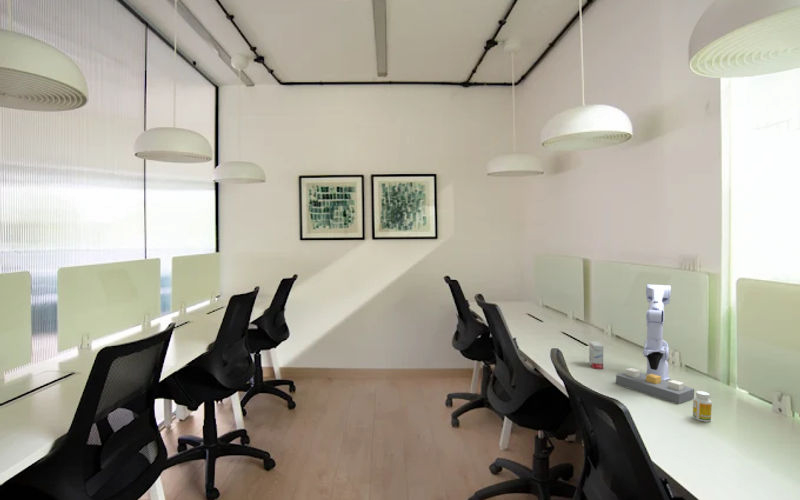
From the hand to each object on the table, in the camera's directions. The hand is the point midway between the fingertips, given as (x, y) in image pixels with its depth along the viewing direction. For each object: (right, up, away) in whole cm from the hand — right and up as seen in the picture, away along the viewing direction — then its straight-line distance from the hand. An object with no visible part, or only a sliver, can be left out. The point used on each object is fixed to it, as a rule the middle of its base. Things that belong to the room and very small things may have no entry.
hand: (653, 369), depth 176 cm
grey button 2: (+5, -7, -8) cm, 11 cm away
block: (-5, -6, +8) cm, 11 cm away
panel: (0, -9, 0) cm, 9 cm away
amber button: (0, -6, 0) cm, 6 cm away
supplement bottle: (+1, -11, -27) cm, 29 cm away
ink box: (-9, -9, +33) cm, 36 cm away
